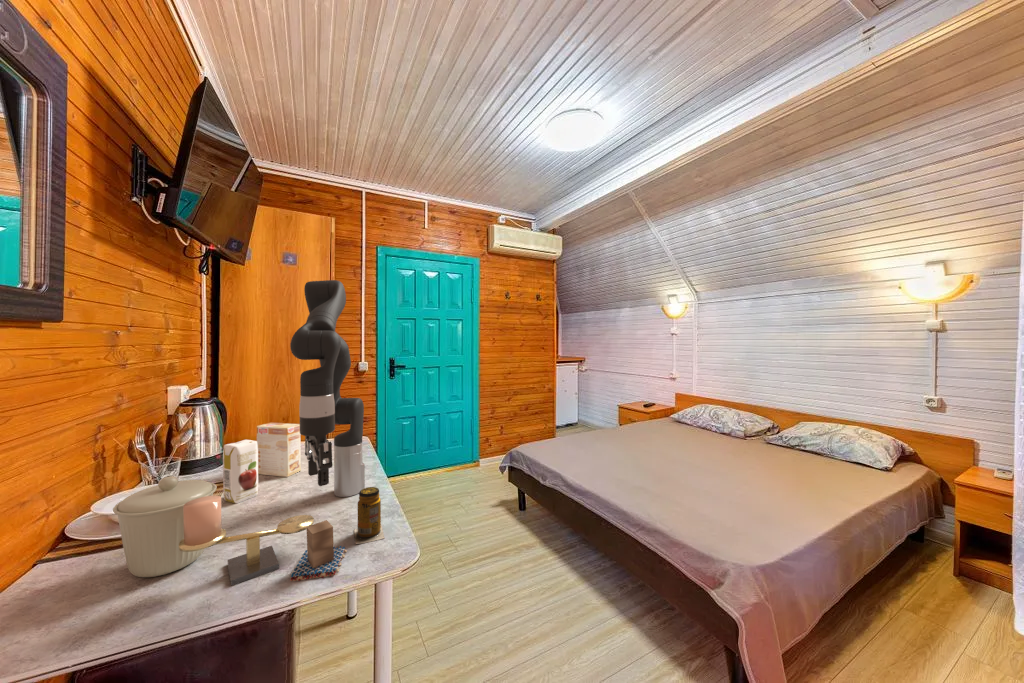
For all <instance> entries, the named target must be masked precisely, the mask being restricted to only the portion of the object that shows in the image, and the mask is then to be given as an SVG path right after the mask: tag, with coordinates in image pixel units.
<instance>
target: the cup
mask: <svg viewBox="0 0 1024 683" xmlns="http://www.w3.org/2000/svg"><path fill="white" fill-rule="evenodd" d="M183 515H184V544H185V545H187V546H195V545H201V544H204V543H207V542H210V541H212V540H214V539H216V538H218V537H219V536H220V535H221V534H222V529H223V528H222V496H220V495H213V496H205V497H201V498H197V499H194V500H191V501H189V502H187V503H186V504H184V506H183Z"/></svg>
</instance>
